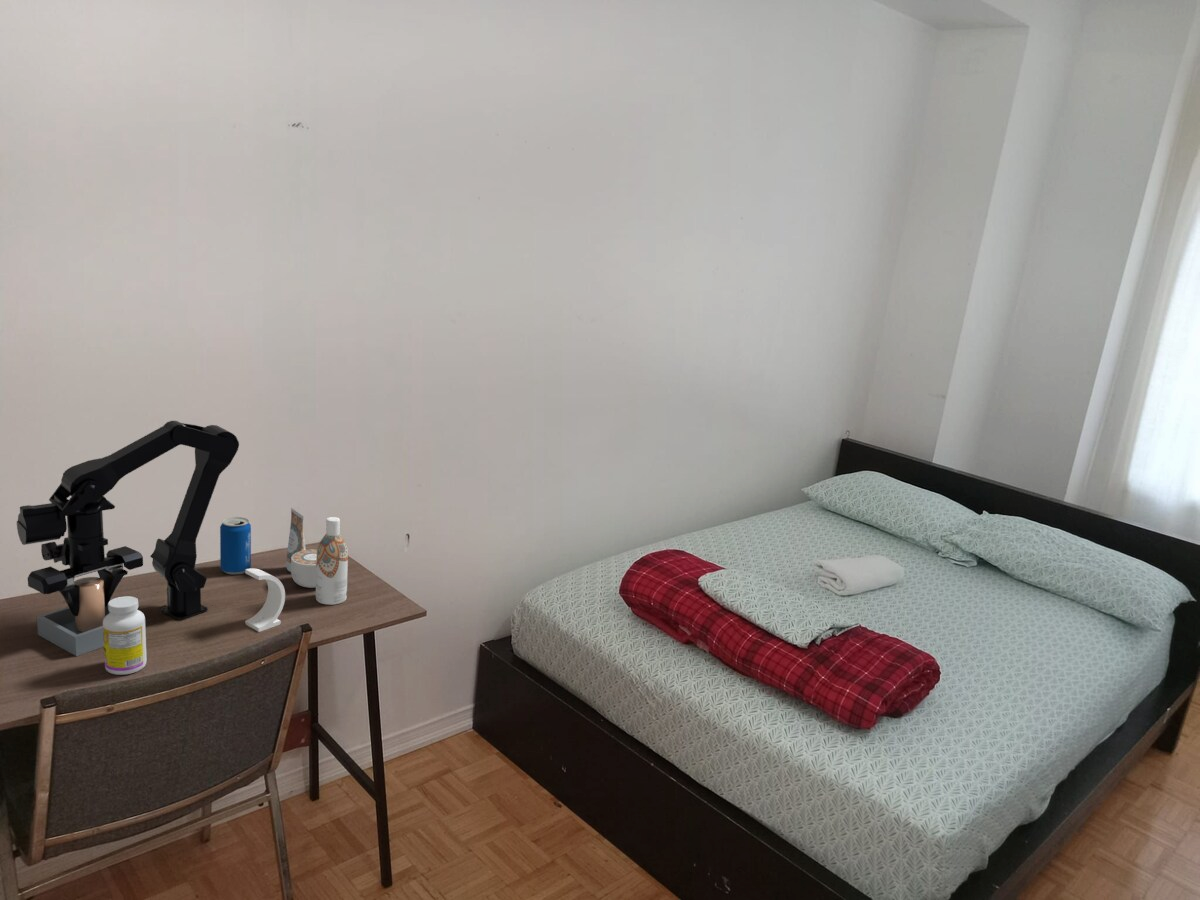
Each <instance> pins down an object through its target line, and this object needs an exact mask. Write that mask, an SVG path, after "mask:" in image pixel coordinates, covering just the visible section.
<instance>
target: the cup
mask: <svg viewBox="0 0 1200 900" xmlns="http://www.w3.org/2000/svg"><path fill="white" fill-rule="evenodd" d="M74 584H75V585H77V586H79V587H80V596H79V613H78V616H75V628H76V630H78V631H81V632H86V631H89V630H92V629H95V628H98V627H101V626H103V620H104V618H105V601H104V581H103V579H101V578H100V577H97V576H86V577H81V578H78V579H76V580H74Z"/></svg>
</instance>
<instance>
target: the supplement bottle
mask: <svg viewBox="0 0 1200 900" xmlns="http://www.w3.org/2000/svg"><path fill="white" fill-rule="evenodd" d="M138 608H139V599H138V598H137V597H135V596H129V595H128V596H124V595H123V596H119V597H115V598H112V599H111V600H110V601H109V603H108V610H109V612H110V613H109V614H108V615H106V616H105V618H104V620H103V638H104V647H103V653H104V654H103V656H104V668H105V670H106V672H108V673H110V674H112V675H115V676H116V675H117V676H119V675H122V676H123V675H130V674H133V673H137V672H139V671H141V670H142V669H143V668H144V667H146V665H147V662H148V661H147V634H146V633H147V631H146V617H145V614H144V612H142V611H141V610H139V609H138Z"/></svg>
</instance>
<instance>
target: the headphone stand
mask: <svg viewBox="0 0 1200 900" xmlns="http://www.w3.org/2000/svg"><path fill="white" fill-rule="evenodd" d="M244 574H246V575H248V576H250V577H252V578H253V579H256V580H258V581H263V580H264V581H265V582H266V584H267V595H266V596H267V597H266V600H265V602H264V604H263V605H262V607H261V608H260V610H259V611H258V612H257V613H256V614H255V615H254V616H252V617H251V618H248V619H246V620H245V625H246V626H248V627H249V628H251V629H253V630H254V631H256V632H258V633H260V632H263V631H266V630H269V629H271V628H273V627H277V626H280V625H281V622H282V621H281V620H280V619H278V617H279V616H280V615H281V613H282V611H283V608H284V606H285V602H286V591H285V586H284V585H283V583H282V582H281V580H280V579H279V578H278V577H276V576H274V575H272V574H270V573H268V572H266V571H263V570H261V569H258V568H250V569H245V573H244Z"/></svg>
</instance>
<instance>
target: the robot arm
mask: <svg viewBox="0 0 1200 900" xmlns="http://www.w3.org/2000/svg"><path fill="white" fill-rule="evenodd" d="M180 445H182V446H185V447H189V448H193V449H194V459H195V460H194V462H195V465H194V470H193V473H192V475H191V478H190V480H189V484H188V487H187V488H186V492H185V495H184V498H183V500H182V504H181V505H180V510H179V511H178V515H177V518H176V520H175V523H174V526H173V528H172V531H171V533H170V534H169V535H168V536H167V537H166V538H165V539H161V538H157V540H156V543H155V548H154V550H153V552H152V554H151V555H150V556H149V557H150V558H151V559H152V565H151V566H152V567H153V569H154V570H155V572H157V573H158V575H160V576H161V577H163V579H164V580H166V581H167V583H166V584H167V587H166V596H167V599H166V600H167V601H166V602H167V606H164V607H161V608H160V611H161V612H162V613H164V614H166V615H168V616H170V617H172V618H175V619H176V620H179V621H182V620H185V619H188V618H191V617H193V616H195V615H198V614H201V613H204V612H207V611H208V609H209V608H208V607H207V606H205V605H203V604H202V599H201V598H202V597H201V593H202V592H201V591H202V589H204V587H206V586H205V585H206V582H207V578H208V577H206V576H205V575H204V574H203V573H202V572H200V571H199V570H198V569H196V562H197V539H198V538H197V537H198V535H199V533H200V529H201V527H202V524H203V521H204V519H205V517H206V513H207V510H208V509H209V505H210V502H211V499H212V496H213V494H214V491H215V488H216V485H217V482H218V480H219V477H220V475H221V474H222V472H224V471H225V470H226V468H228V467H229V466H230V465H231V464H232V461H233V460H234V458H235V456H236V454H237V452H238V451H239V446H240V442H239V440H238V437H237V436H236V435H235V434H234V433H232V432H230V431H229V430H227V429H224V428H223V427H221V426H219V425H217V424H210V425H206V426H200V425H198V424H197V425H196V424H191V423H190V424H189V423H185V422H180V421H178V420H170V421H169V420H168V421H167V422H166V423H165V424H163V426H160V427H159V428H157V429H155V430H153V431H152V432H150V433H148V434H146V435H144V436H141V438H139V439H137V440H135V441H133V442H131V443H129V444H128V445H126V446H124V447H122V448H120V449H118V450H116V451H115V452H112V453H111V454H109V455H106V456H104V457H100V458H95V459H90V460H87V461H83V462H81V463H79V464H75V465H72V466H70V467H69V468H67V469H66V470H64V472H63V473H62V477H61V481H60V484H59V486H57V488H56V489H55V491H54V492H53V493H52V494H51V496H50V497H49V499H48V501H49V502H50V503H42V504H36V505H29V504H28V505H21V506H20V507H19V514H18V516H17V520H16V530H17V534H18V537H19V541H20V543H21V545H23V546H25V545H32V544H38V543H42V544H41V547H40V548H41V549H40V550H41V552H40V553H41V555H42V556H41V557H42V559H43V560H44V561H52V560H53V562H54V563H55V564H56V563H58V562H61V564H62V565H63V566H69V567H68V568H65V569H62V570H59V569H57V568H54V567H53V566H48V567H44V568H40V569H35V570H33V571H30V573H29V574H28V576H27V586H28V587H29V588H31V589H33V590H35V591H37V592H38V593H41V594H43V595H50V594H54V593H57V592H59V593H60V594H61V595H62V597H63V599H64V601H65V602H66V604H67V607H69V608H70V610H71V612H72V614H73V615H74V616H78V613H79V596H80V587H79V586H77V585H75V584H74V581H75V578H79V577H82V576H84V575H88V574H92V573H97V574H98V576H99V577H98V578H101V579H103V581H104V601H105V607H106V606H107V604H108V602H109V600H110V599H111V598H112V597H113V594H114V592H115V590H116V588H117V587H118V586H119V584H120V583H121V581H122V579H124V577H125V576H126V575H128V572H129V571H131V570H134V569H137V568H142V567H143V566H144V557H143V555H142V553H141V552H140V551H137V550H135V549H133V548H131V547H128V546H126V545H125V546H120V547H117V548H114V549H110V550H108V551H107V553H106V556H105V546H108V545H109V540H108V538H105V537H104V536H105V535H104V521H103V520H104V519H103V517H104V515H103V514H104V513H103V511H109V510H114V509H115V508H116V505H114V504H113V503H112V502H111V501H110V500H108V499H107V498H106V497H105V496H106V494H108V493H109V492H110V491H111V490H113V489H114V487H116V485H117V484H118V482H119V481H120V480H122V478H124V477H125V476H126V475H128V474H130V473H132V472H133V471H135V470H137V469H140V468H142V467H143V466H145V465H146V464H148V463H150V462H151V461H154V460H155V459H157V458H159V457H160V456H162V455H164V454H165V453H168V452H169V451H171V450H173V449H176V447H178V446H180ZM68 498H69V499H68ZM66 532H67V537H64V536H65V533H66ZM62 537H64V539H63V543H59V544H58V543H56V540H60V539H61V538H62ZM54 540H55V541H54ZM43 542H44V543H43ZM124 568H125V569H124ZM128 570H129V571H128Z"/></svg>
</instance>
